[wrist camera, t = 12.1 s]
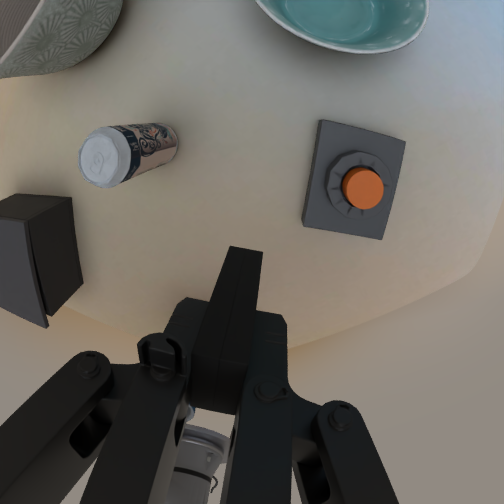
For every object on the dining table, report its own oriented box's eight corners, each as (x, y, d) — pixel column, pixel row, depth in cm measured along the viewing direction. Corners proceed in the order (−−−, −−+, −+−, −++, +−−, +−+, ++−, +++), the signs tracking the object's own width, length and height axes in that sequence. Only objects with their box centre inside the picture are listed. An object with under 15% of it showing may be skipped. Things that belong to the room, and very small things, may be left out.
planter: (90, 101, 26) (-8, 107, 12) (27, 60, 22) (-51, 61, 9) (171, -13, 19) (107, -74, 6) (90, -35, 16) (24, -67, 2)
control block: (375, 232, 30) (387, 247, 27) (301, 219, 30) (304, 233, 27) (397, 140, 25) (413, 143, 22) (318, 119, 26) (325, 119, 22)
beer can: (186, 133, 27) (133, 140, 17) (168, 171, 29) (112, 201, 18) (149, 116, 27) (84, 119, 16) (134, 155, 29) (67, 177, 18)
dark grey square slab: (49, 325, 29) (46, 329, 28) (-4, 301, 29) (-7, 303, 28) (28, 220, 23) (23, 222, 23) (-23, 212, 24) (-27, 214, 23)
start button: (372, 207, 26) (378, 212, 24) (338, 200, 26) (342, 205, 24) (381, 172, 24) (387, 175, 22) (346, 163, 24) (351, 166, 22)
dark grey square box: (83, 283, 37) (51, 316, 29) (29, 267, 38) (-2, 293, 30) (71, 197, 31) (28, 220, 24) (15, 193, 32) (-23, 212, 24)
